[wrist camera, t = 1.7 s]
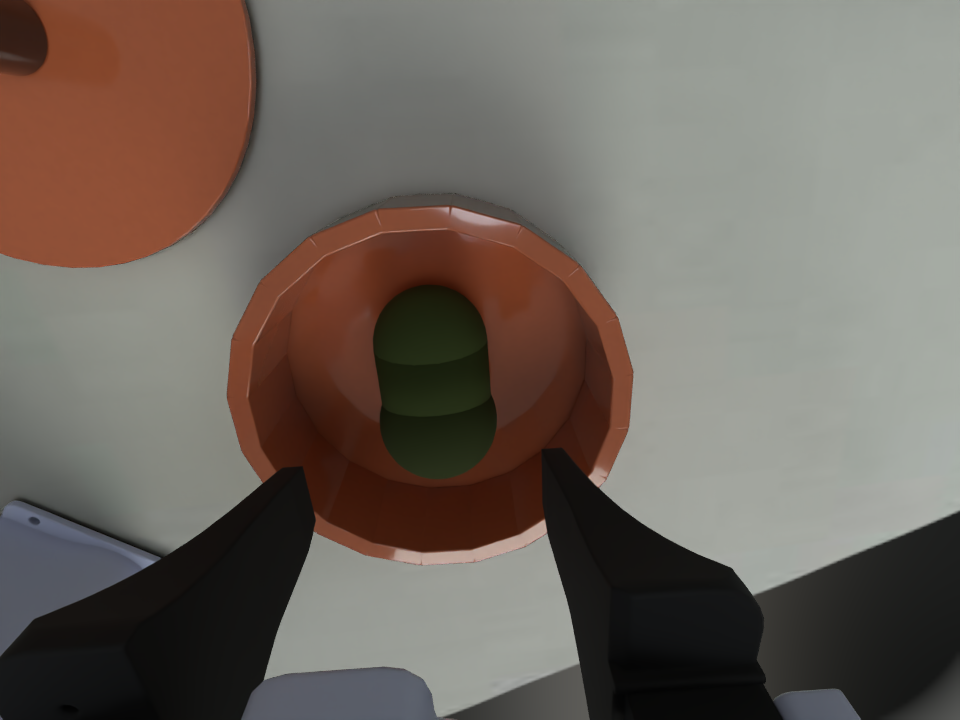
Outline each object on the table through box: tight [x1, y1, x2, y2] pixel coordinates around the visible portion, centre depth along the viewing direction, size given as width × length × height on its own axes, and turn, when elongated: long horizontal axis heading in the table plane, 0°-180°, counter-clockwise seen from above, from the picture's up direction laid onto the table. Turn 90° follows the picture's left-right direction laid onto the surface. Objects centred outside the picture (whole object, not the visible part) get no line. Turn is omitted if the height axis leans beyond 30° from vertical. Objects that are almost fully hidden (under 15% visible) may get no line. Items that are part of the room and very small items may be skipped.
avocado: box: [373, 285, 497, 479], centre depth 21 cm, size 8×5×5 cm, turn 4°
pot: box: [227, 193, 633, 565], centre depth 21 cm, size 15×15×5 cm
